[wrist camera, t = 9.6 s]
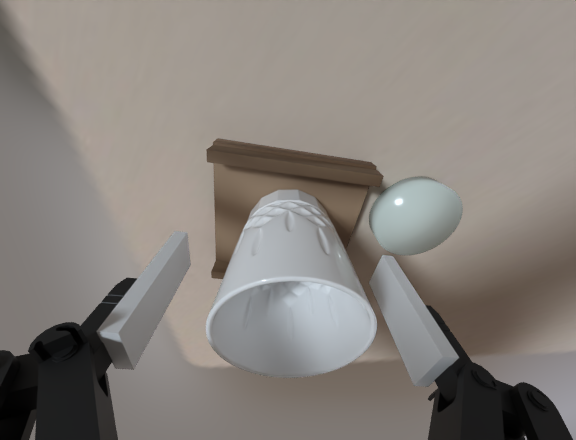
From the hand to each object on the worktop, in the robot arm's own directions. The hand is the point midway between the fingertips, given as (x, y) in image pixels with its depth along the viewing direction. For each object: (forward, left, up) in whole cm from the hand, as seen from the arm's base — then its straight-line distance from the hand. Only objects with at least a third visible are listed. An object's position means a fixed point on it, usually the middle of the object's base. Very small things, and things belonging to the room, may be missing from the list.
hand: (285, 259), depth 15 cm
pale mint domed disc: (-2, +11, -6) cm, 13 cm away
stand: (0, 0, -6) cm, 6 cm away
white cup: (0, 0, -5) cm, 5 cm away
